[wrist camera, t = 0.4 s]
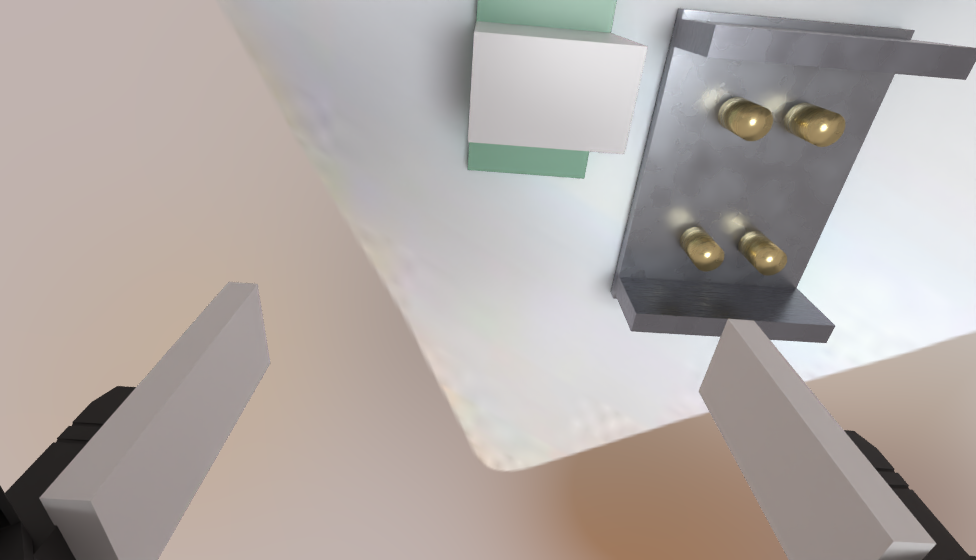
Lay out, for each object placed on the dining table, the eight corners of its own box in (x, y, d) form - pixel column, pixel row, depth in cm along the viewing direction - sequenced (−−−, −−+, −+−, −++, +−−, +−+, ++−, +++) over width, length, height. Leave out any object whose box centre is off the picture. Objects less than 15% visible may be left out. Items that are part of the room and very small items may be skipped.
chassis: (678, 8, 30) (718, 13, 25) (902, 29, 31) (988, 37, 25) (610, 291, 40) (629, 337, 35) (780, 302, 41) (823, 348, 35)
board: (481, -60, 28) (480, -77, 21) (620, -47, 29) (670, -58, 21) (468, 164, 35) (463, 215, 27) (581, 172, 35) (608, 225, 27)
